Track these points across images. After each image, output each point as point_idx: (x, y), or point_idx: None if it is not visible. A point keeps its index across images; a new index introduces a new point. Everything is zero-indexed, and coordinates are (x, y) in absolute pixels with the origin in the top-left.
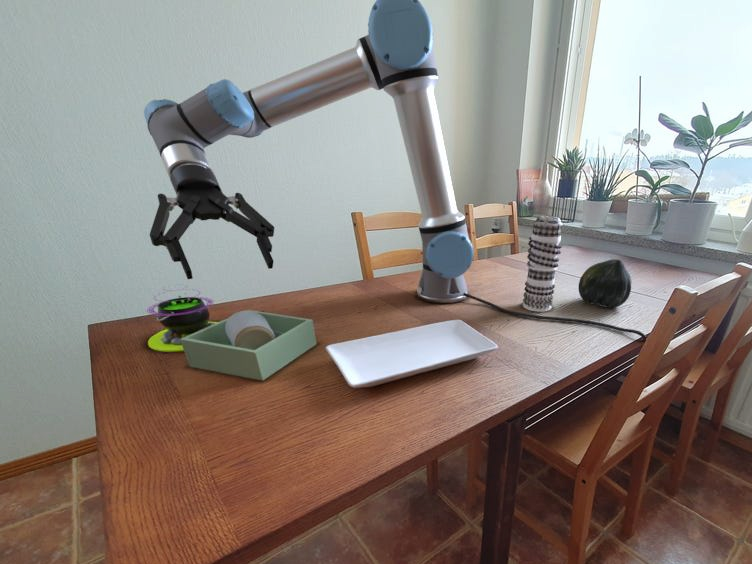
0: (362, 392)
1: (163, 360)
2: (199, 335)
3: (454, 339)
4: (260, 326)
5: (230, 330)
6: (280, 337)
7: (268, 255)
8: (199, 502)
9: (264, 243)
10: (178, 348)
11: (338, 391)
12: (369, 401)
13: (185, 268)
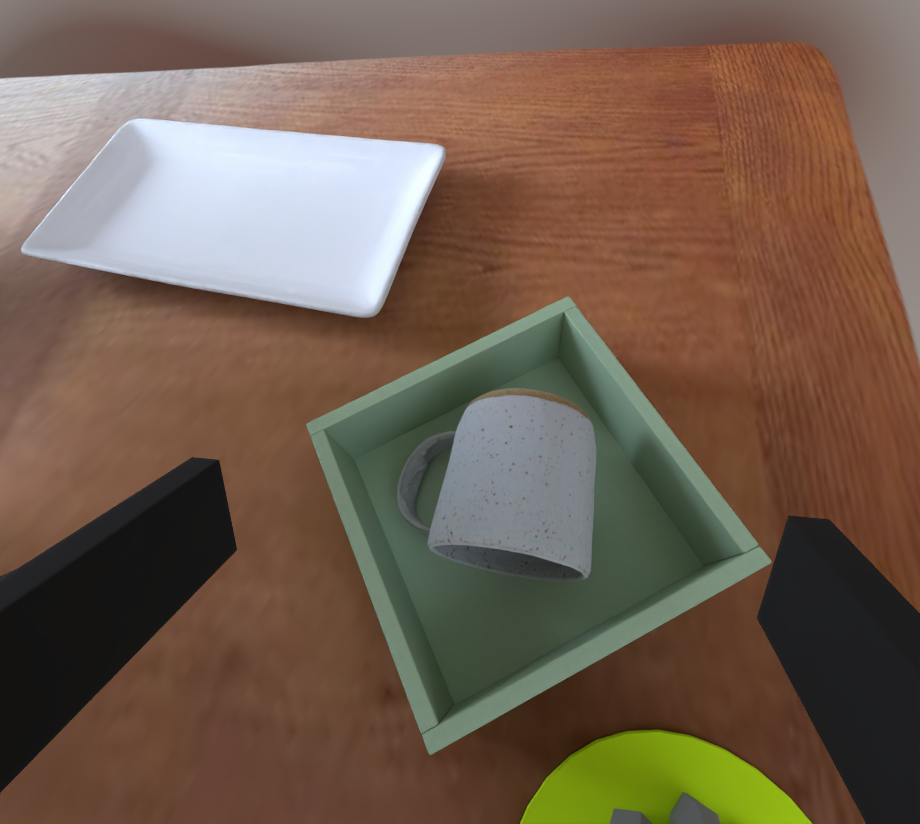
0: None
1: None
2: (692, 581)
3: (120, 226)
4: (498, 393)
5: (587, 482)
6: (466, 347)
7: (168, 486)
8: (743, 108)
9: (35, 564)
10: (750, 787)
11: (452, 221)
12: None
13: (842, 535)
